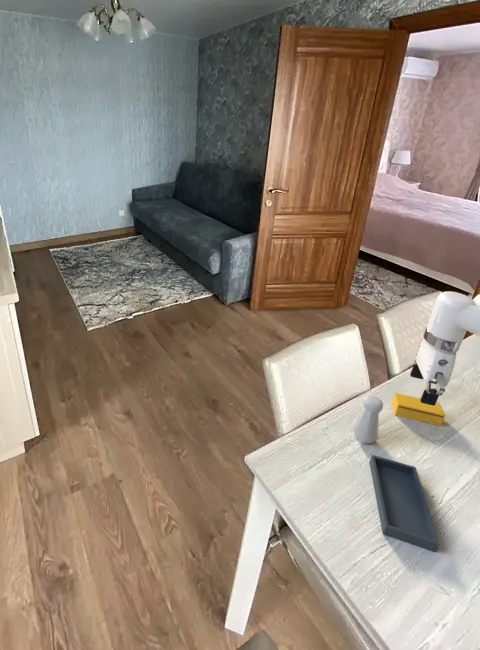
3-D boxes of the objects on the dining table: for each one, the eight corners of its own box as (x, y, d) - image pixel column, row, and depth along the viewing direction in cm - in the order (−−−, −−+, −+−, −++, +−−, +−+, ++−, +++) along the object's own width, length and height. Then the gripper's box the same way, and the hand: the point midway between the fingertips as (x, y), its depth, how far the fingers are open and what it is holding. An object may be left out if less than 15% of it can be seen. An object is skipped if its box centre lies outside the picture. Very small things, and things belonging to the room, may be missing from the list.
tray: (412, 474, 81) (415, 466, 80) (435, 552, 67) (439, 544, 66) (369, 461, 84) (371, 454, 83) (382, 534, 69) (385, 526, 69)
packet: (435, 413, 97) (439, 402, 96) (440, 426, 93) (445, 415, 92) (391, 402, 100) (394, 392, 99) (394, 415, 96) (398, 404, 95)
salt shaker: (378, 436, 90) (390, 399, 85) (372, 451, 86) (384, 413, 81) (354, 423, 94) (364, 387, 89) (347, 437, 90) (358, 400, 85)
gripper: (474, 365, 78) (449, 419, 85) (446, 322, 94) (427, 371, 100) (436, 357, 81) (414, 410, 87) (415, 317, 96) (398, 365, 102)
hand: (421, 389), depth 94 cm, fingers open, 9 cm apart
